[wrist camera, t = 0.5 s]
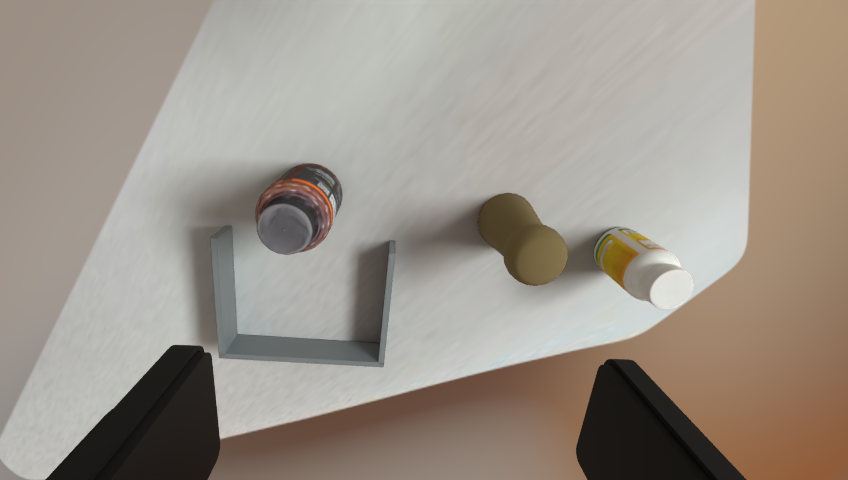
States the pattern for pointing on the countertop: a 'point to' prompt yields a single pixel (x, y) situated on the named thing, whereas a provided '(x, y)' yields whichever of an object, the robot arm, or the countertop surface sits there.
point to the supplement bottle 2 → (643, 268)
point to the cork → (522, 239)
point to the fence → (285, 347)
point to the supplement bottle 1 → (298, 209)
